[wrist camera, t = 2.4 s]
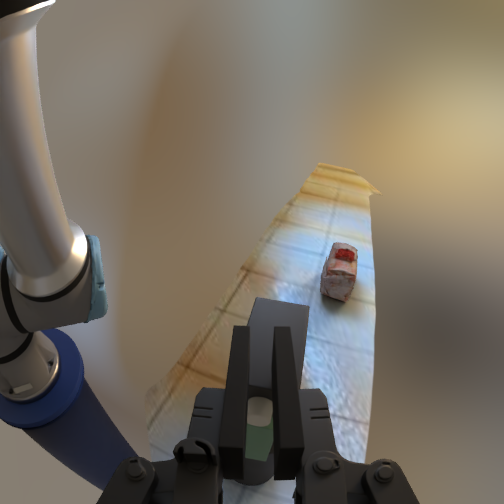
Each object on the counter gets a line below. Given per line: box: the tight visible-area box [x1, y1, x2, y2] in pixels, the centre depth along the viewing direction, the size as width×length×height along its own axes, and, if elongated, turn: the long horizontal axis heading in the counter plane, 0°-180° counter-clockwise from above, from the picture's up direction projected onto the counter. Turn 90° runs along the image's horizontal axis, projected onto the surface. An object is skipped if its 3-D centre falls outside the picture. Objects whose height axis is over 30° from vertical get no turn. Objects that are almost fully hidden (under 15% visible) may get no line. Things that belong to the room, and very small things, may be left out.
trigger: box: [245, 417, 273, 461], centre depth 19 cm, size 1×3×7 cm, turn 78°
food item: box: [320, 242, 358, 302], centre depth 66 cm, size 14×8×10 cm, turn 163°
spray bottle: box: [235, 297, 309, 485], centre depth 24 cm, size 10×7×28 cm
